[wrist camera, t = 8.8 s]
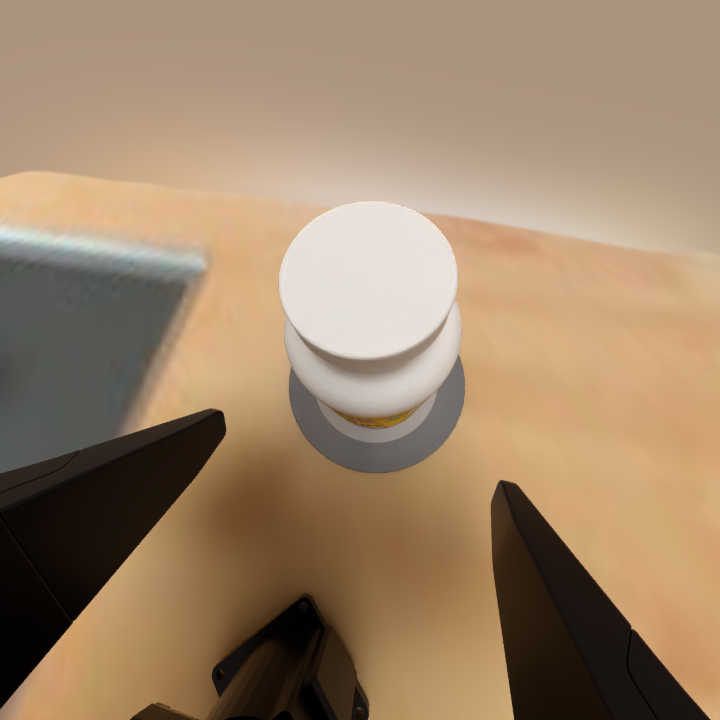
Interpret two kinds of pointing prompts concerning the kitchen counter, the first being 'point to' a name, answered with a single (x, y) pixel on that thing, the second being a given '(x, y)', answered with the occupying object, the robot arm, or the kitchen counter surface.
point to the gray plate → (380, 445)
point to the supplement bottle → (371, 311)
